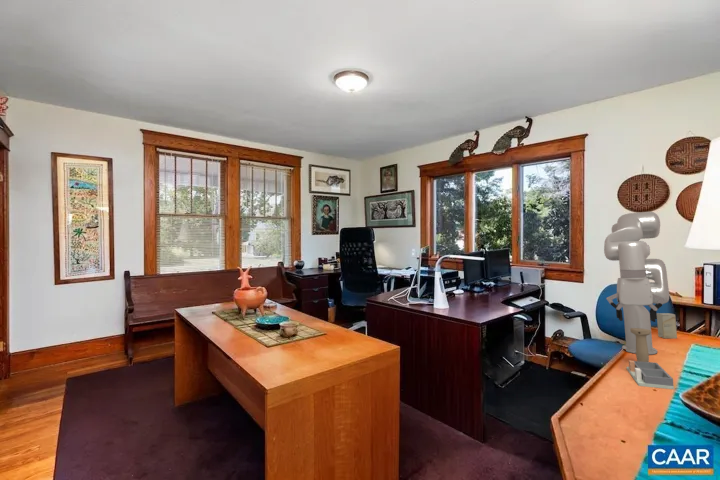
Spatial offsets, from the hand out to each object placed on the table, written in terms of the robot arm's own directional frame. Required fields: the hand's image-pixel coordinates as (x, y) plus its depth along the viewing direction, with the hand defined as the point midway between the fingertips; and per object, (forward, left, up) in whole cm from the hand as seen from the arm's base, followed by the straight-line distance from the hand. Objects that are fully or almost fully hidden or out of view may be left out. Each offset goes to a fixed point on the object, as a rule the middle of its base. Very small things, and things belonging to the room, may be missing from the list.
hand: (636, 320), depth 128 cm
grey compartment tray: (-1, +2, -21) cm, 22 cm away
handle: (-15, +4, -22) cm, 26 cm away
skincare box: (-69, +26, -22) cm, 77 cm away
